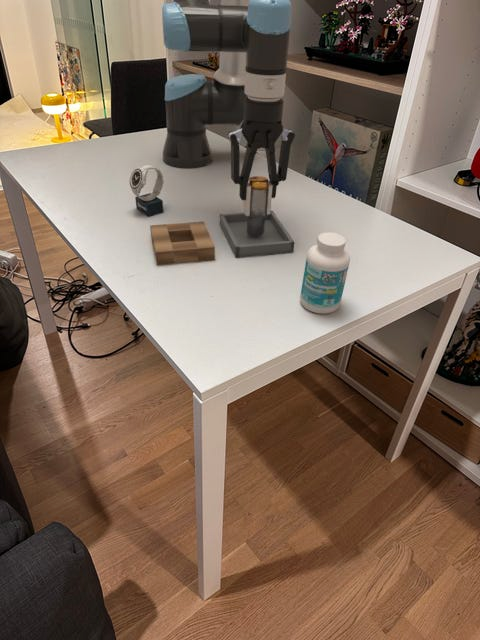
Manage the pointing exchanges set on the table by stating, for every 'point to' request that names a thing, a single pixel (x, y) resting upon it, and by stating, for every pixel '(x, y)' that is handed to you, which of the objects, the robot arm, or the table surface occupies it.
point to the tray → (249, 245)
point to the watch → (149, 202)
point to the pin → (257, 205)
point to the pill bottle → (325, 274)
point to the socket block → (182, 243)
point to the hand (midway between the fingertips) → (256, 212)
